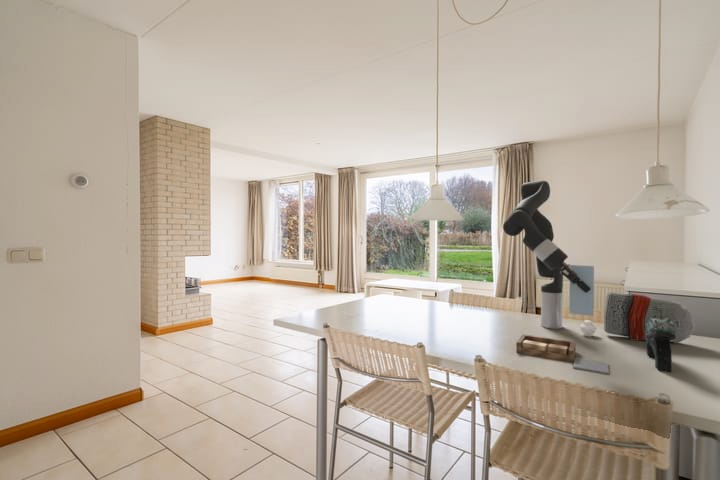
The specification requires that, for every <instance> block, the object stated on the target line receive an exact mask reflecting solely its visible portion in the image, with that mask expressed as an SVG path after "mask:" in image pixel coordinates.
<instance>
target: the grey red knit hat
mask: <svg viewBox="0 0 720 480" xmlns="http://www.w3.org/2000/svg"><path fill="white" fill-rule="evenodd" d="M660 308H662V319H661V320H665V319H666V318H670V321H672V322H673V324H674V328H675V339H673V340H670V342H674V343H673V344H679V343H681V342H682V341H685V340H687V339H689V338H690V337H691V335H692V333H693V331H694V330H695V328H696V325H695V320H694V316H693V314H692V313H691V312H690V311H689V310H688V309H687V307H685V306H682V304H681V303H680V302H676V301H673V300H669V299H667V298H666V299H665V298H658V297H651V296H650V297H649V296H646V295H643V294H635V293H631V294H628V293H622V292H613V291H608V292H607V293H606V299H605V303H604V310H603V331H604V332H606V334H610V335H616V336H621V337H626V338H629V340H630V339H638V340H637V341H639V340H643V341H646V339H645V326H646V324H648V321H649V319H650V318H653V317H654V315H658V316H659V318H660V317H661V312H659V310H660ZM655 319H658V317H657V316H656V317H655Z"/></svg>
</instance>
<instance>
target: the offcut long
mask: <svg viewBox="0 0 720 480" xmlns="http://www.w3.org/2000/svg"><path fill="white" fill-rule="evenodd" d="M522 348H529V349H535V350H541V351H547V352H548V344H545V343H540V342H535V341H529V340H525V341H523V342H522Z"/></svg>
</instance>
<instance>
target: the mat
mask: <svg viewBox="0 0 720 480" xmlns="http://www.w3.org/2000/svg"><path fill="white" fill-rule="evenodd" d="M572 368H573V369H577V370H580V371H581V370H582V371H587V372H593V373H597V374H598V373H599V374H604V375H609V373H610V371H609V370H610V369H609V363H608V362H603V361H602V362H601V361H596V360H591V359H584V358H577V357H574V362H573V365H572Z"/></svg>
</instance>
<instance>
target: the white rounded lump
mask: <svg viewBox="0 0 720 480" xmlns="http://www.w3.org/2000/svg"><path fill="white" fill-rule="evenodd" d="M579 328H580V331H581V332H582V334H583V336H585V337H593V335H594V334H595V333H596V330H597V328H596V326H595V324H594V323H593V321H592V320H583V323H581V324H580V327H579Z"/></svg>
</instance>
